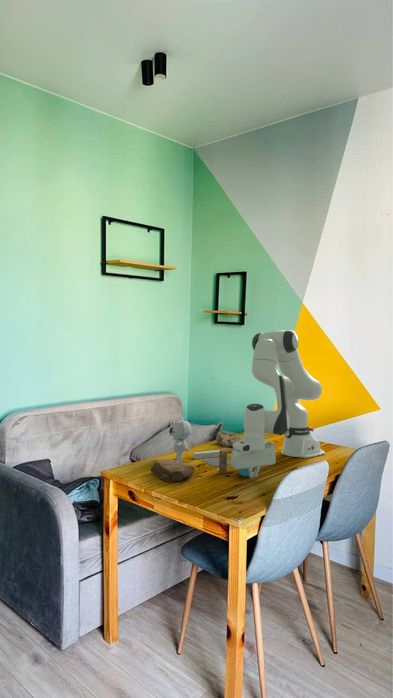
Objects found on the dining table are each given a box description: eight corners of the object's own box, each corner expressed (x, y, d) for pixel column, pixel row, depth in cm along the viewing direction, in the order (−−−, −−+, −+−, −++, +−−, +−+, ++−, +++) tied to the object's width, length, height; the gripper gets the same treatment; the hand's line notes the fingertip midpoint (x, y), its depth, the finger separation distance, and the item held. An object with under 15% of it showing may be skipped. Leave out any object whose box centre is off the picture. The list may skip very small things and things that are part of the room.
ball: (256, 467, 198) (252, 478, 200) (249, 458, 202) (245, 469, 205) (244, 469, 195) (240, 480, 197) (237, 459, 200) (234, 470, 202)
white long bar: (221, 454, 235) (222, 449, 235) (224, 455, 232) (224, 450, 232) (193, 457, 228) (193, 452, 228) (195, 459, 225) (195, 453, 225)
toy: (168, 456, 230) (169, 415, 229) (189, 456, 231) (190, 415, 230) (169, 465, 213) (170, 422, 212) (192, 465, 214) (193, 422, 213)
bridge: (219, 472, 205) (219, 450, 205) (248, 468, 212) (248, 447, 211) (222, 474, 202) (222, 451, 202) (251, 470, 209) (252, 448, 209)
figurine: (224, 431, 264) (256, 435, 253) (223, 444, 264) (254, 449, 252) (212, 431, 255) (244, 436, 243) (211, 445, 254) (243, 450, 242)
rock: (203, 467, 198) (182, 469, 186) (199, 484, 198) (179, 487, 185) (166, 455, 209) (145, 456, 197) (163, 471, 209) (141, 473, 197)
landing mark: (223, 457, 229) (223, 457, 229) (236, 464, 218) (236, 463, 218) (201, 460, 224) (201, 459, 224) (213, 466, 213) (213, 466, 213)
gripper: (270, 440, 202) (269, 471, 202) (229, 444, 193) (228, 477, 193) (279, 443, 196) (278, 476, 197) (237, 448, 187) (236, 482, 188)
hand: (253, 477), depth 195 cm, fingers closed
